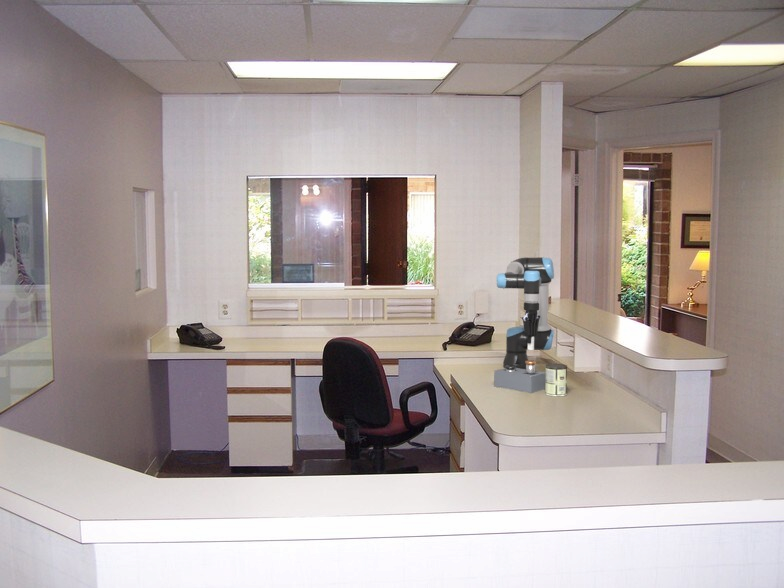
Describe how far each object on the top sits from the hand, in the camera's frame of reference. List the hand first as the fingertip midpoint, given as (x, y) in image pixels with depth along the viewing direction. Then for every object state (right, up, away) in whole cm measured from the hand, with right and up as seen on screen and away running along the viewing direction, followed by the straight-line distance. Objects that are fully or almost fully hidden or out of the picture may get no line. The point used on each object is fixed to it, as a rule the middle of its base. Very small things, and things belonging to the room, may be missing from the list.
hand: (530, 349), depth 353 cm
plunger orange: (0, -14, +2) cm, 14 cm away
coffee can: (+10, -21, -9) cm, 25 cm away
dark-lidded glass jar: (-8, -18, +10) cm, 22 cm away
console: (-4, -19, +6) cm, 21 cm away
